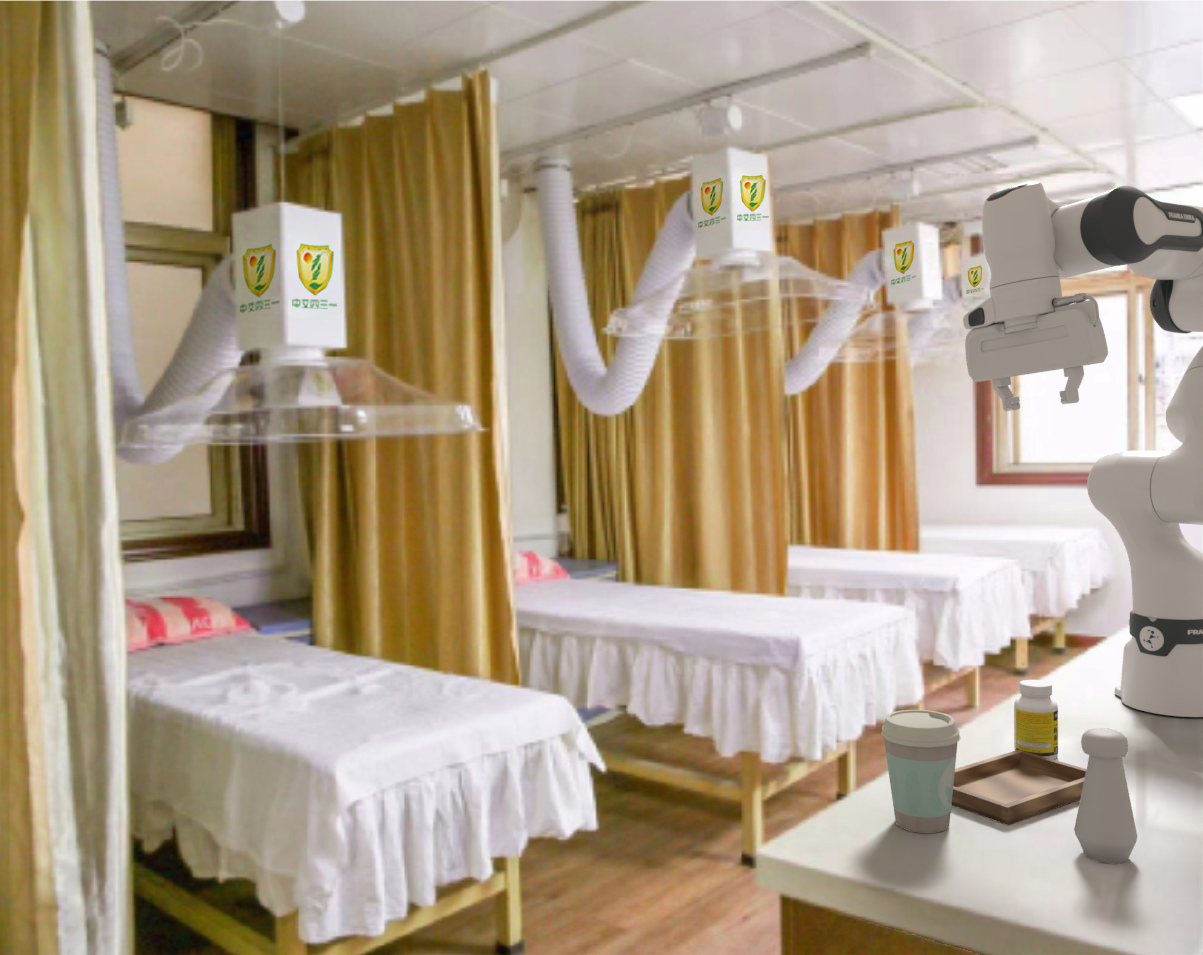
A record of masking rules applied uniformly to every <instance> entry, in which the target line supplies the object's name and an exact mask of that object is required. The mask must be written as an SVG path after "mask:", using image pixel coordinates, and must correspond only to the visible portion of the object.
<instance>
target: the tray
mask: <svg viewBox="0 0 1203 955" xmlns="http://www.w3.org/2000/svg"><path fill="white" fill-rule="evenodd" d="M1086 770H1087V768H1084V767H1081V766H1077V765H1073V764H1070V763H1066V762H1062V761H1060V760H1056V759H1050V758H1046V757H1042V756H1039V755H1035V754H1032V753H1028V752H1025V751H1021V750H1016V751H1015V750H1014V751H1010V752H1007V753H1003V754H1000V755H996V756H993V757H990V758H987V759H983V760H980V761H976V762H973V763H971V764H967V765H964V766H963V765H962V766H961V767H957V768H955V774H954V784H953V794H952V804H951V806H953V807H956V808H958V809H962V810H965V811H967V812H969V813H973V814H976V815H978V816H981V817H984V818H987V819H990V820H992V821H995V822H998V823H1001V824H1003V825H1006V826H1010V825H1012V824H1015V823H1018V822H1021V821H1024V820H1026V819H1029V818H1030V819H1031V818H1032V817H1036V816H1037V815H1040V814H1043V813H1046V812H1050V811H1053V810H1054V809H1058V808H1060V807H1063V806H1066V805H1068V804H1072V803H1074V802H1078V801H1080V799H1081V794H1082V789H1083V784H1084V779H1085V774H1086Z"/></svg>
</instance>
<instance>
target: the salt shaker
mask: <svg viewBox="0 0 1203 955" xmlns="http://www.w3.org/2000/svg"><path fill="white" fill-rule="evenodd" d="M1128 741H1129V740H1128V738H1127V737H1126V736H1125V735H1124V734H1123V733H1122V732H1121V731H1118V730H1116V729H1115V730H1114V729H1110V728H1104V727H1103V728H1101V727H1094V728H1090V729H1087V730H1085V731H1084V732H1083V734H1082V735H1081V740H1080V742H1081V749H1082V752H1084V754H1086V755H1088V760H1087V765H1086V769H1087V770H1086V774H1085V779H1084V784H1083V789H1082V794H1081V799H1080V800H1079V803H1078V804H1079V805H1078V808H1077V814H1076V818H1075V823H1074V827H1073V831H1074V835H1075V837H1076V838H1077V841H1078V842H1079V844H1080V846H1081V849H1082V851H1083V853H1084V855H1085V857H1086V858H1087V859H1091V860H1093V861H1095V862H1097V863H1100V864H1115V865H1121V864H1122V863H1124V862H1126V861H1127V860H1129V858H1130V856H1131V854H1132V852H1133V850H1134V848H1135V846H1136V843H1137V841H1138V833H1137V829H1136V823H1135V818H1134V813H1133V807H1132V802H1131V797H1130V793H1129V788H1128V783H1127V777H1126V773H1125V766H1124V761H1123V758H1125V757H1126V756H1127V755H1128V752H1129V742H1128Z"/></svg>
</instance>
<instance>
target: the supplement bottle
mask: <svg viewBox="0 0 1203 955" xmlns="http://www.w3.org/2000/svg"><path fill="white" fill-rule="evenodd" d="M1019 694H1021V696H1019V697H1018V696H1017V698H1015V700H1014V702H1013V703H1014V704H1013V705H1014V706H1013V719H1014V720H1013V726H1014V728H1013V729H1014V732H1013V734H1014V735H1013V736H1014V738H1013V741H1014V751H1016V750H1021V751H1025V752H1028V753H1032V754H1035V755H1039V756H1042V757H1046V758H1050V759H1053V760H1056V759H1057V758H1058V757H1059V756H1058V755H1059V721H1058V720H1059V717H1058V716H1059V715H1058V714H1059V709H1058V707H1059V706H1058V704H1057V702H1056V700H1054V699H1053V698H1051V696H1052V695H1053V684H1052V683H1051V682H1049V681H1047V680H1041V679H1023V680H1021V681H1019Z"/></svg>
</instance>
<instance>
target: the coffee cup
mask: <svg viewBox="0 0 1203 955" xmlns="http://www.w3.org/2000/svg"><path fill="white" fill-rule="evenodd" d="M881 730H882V731H881V732H880V734H881V737H882V738H883V740H884V747H885V748H884V749H885V756H886V762H887V764H886V765H887V768H888V770H887V771H888V777H889V784H890V791H891V799H892V807H893V815H894V819H895V820H894V821H895V824H896V823H897V824H896V825H897V826H898V827H899V826H900V827H899V828H901V827H902V828H901V829H903V828H905V829H907V830H906V831H908V830H909V832H912V831H913V832H914V833H916V834H917V833H919V834H936V832H937V833H940V832H944V831H946V830H947V829H949V828H950V822H951V813H952V805H951V804H952V794H953V784H954V774H955V769H956V761H957V753H958V751H957V750H958V743H959V741H961V735H960V730H959V728H958V726H957V723H956V720H955V718H954V717H953V716H951V715H949V714H947V713H944V712H939V711H935V710H927V709H904V710H903V709H902V710H897V711H894V712H890V713H888V714H887V715H886V716H885V720H884V723H883V725H882V726H881ZM905 829H904V830H905ZM913 832H912V833H913Z"/></svg>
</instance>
